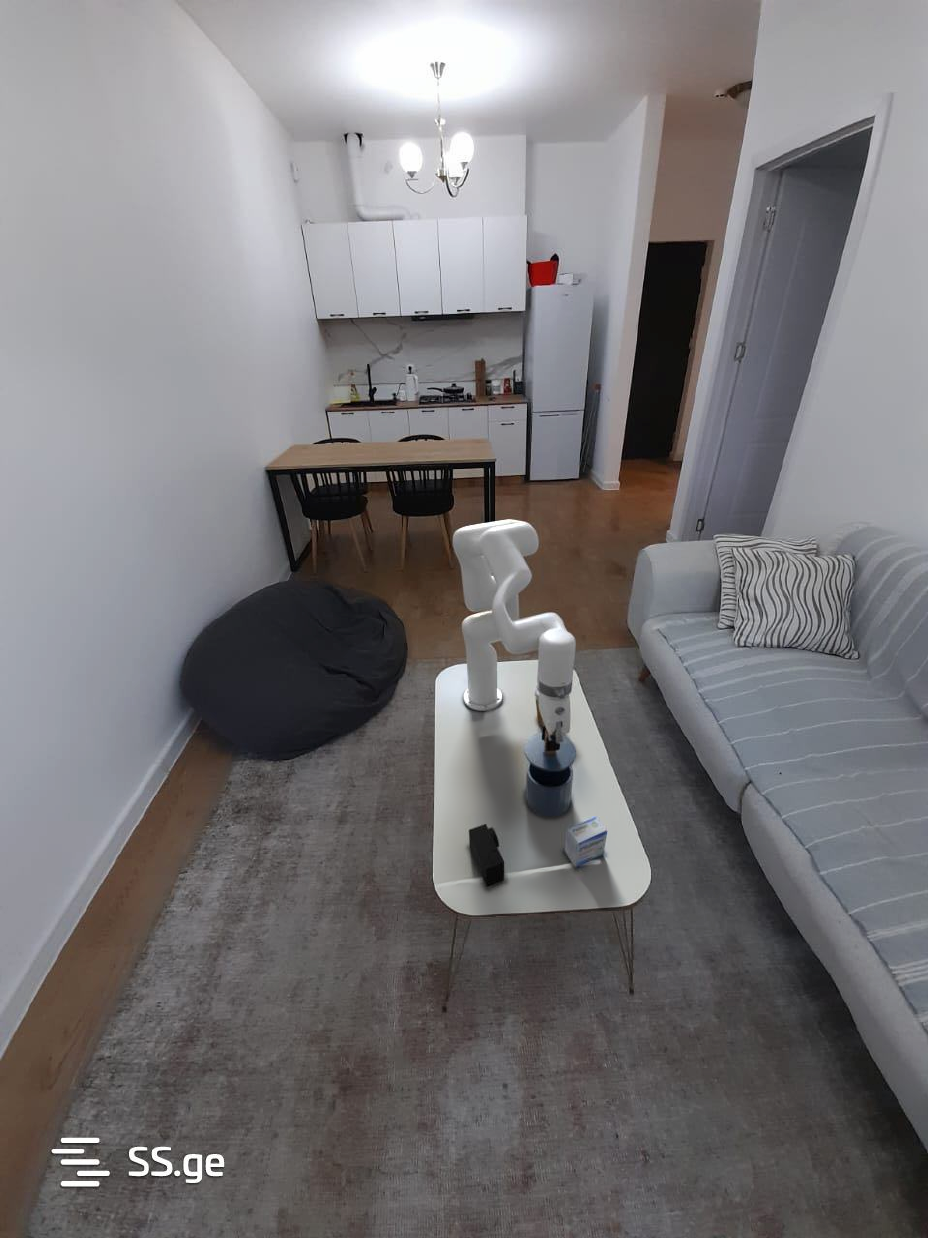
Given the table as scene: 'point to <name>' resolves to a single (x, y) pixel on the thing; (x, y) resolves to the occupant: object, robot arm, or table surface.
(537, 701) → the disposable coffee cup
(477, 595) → the robot arm
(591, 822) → the medicine box
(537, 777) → the cup
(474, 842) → the digital camera
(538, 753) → the lid
